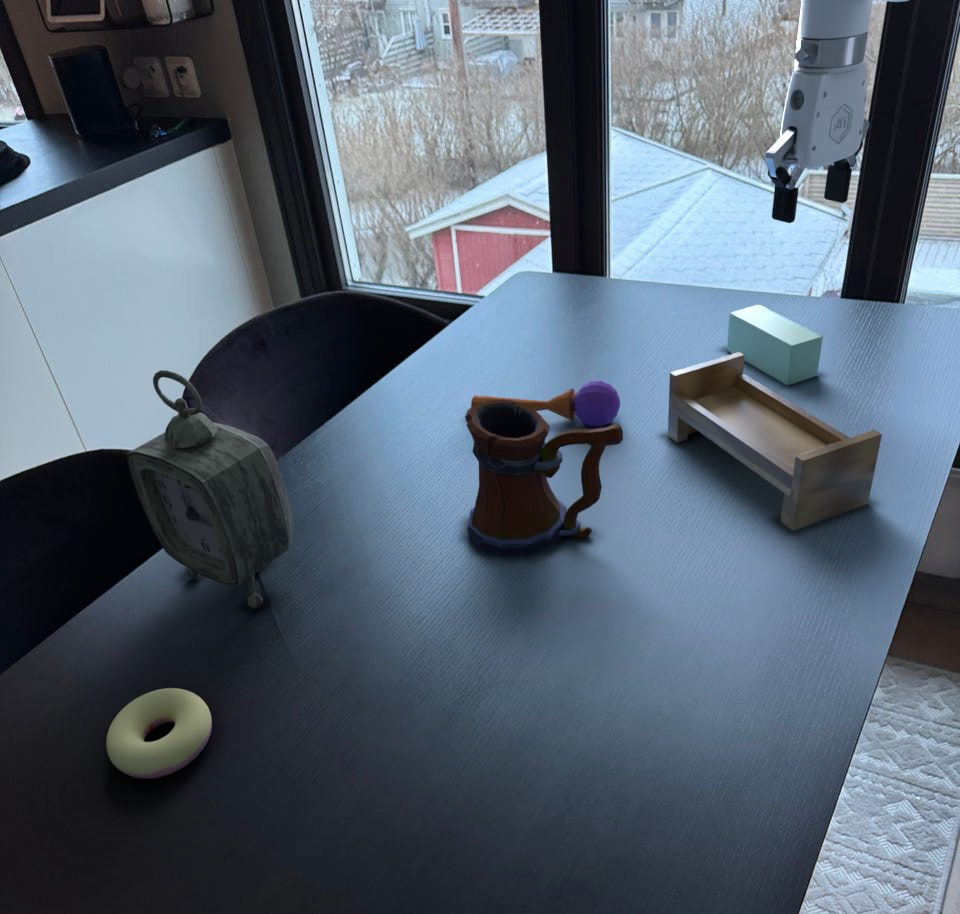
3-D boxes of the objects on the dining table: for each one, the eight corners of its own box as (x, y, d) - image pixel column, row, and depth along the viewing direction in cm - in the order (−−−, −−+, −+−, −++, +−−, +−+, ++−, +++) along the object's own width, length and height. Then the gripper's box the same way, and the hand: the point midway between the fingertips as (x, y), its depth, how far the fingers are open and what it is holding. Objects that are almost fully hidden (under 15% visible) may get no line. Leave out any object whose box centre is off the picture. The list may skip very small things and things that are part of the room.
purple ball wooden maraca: (479, 380, 127) (622, 374, 120) (484, 422, 130) (624, 418, 123) (465, 392, 122) (613, 386, 115) (471, 435, 125) (615, 432, 118)
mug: (634, 516, 105) (635, 394, 95) (608, 575, 97) (607, 449, 87) (488, 499, 111) (475, 383, 101) (452, 553, 103) (435, 433, 93)
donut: (223, 719, 89) (125, 720, 89) (217, 679, 87) (117, 681, 86) (205, 785, 81) (96, 788, 80) (198, 744, 78) (86, 746, 78)
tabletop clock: (172, 581, 104) (89, 375, 88) (232, 541, 110) (164, 339, 93) (256, 622, 97) (183, 405, 81) (316, 577, 102) (258, 365, 86)
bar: (755, 344, 135) (758, 304, 132) (816, 378, 125) (823, 336, 121) (726, 352, 134) (729, 312, 130) (786, 388, 124) (791, 345, 120)
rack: (733, 417, 120) (739, 351, 114) (867, 506, 101) (882, 433, 96) (667, 438, 117) (669, 372, 111) (792, 533, 99) (802, 460, 93)
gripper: (804, 70, 99) (785, 235, 110) (907, 40, 105) (879, 198, 117) (751, 64, 104) (738, 222, 115) (852, 36, 110) (830, 188, 121)
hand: (809, 210), depth 116 cm, fingers open, 9 cm apart
